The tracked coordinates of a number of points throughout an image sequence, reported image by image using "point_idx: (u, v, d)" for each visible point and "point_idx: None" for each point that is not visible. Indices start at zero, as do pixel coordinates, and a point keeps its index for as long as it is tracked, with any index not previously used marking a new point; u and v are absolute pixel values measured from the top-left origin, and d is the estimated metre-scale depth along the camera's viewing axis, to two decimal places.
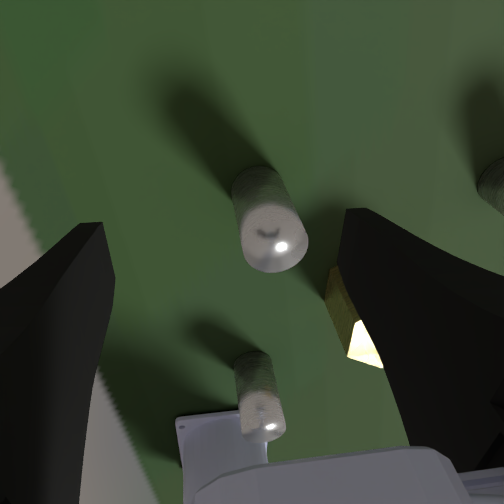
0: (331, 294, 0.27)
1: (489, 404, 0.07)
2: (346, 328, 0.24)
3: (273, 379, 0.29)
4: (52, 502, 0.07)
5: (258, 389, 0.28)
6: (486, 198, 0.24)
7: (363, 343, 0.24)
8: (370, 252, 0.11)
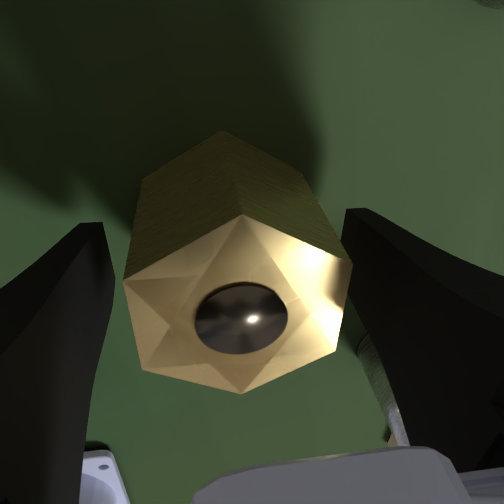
0: None
1: (489, 404, 0.07)
2: None
3: None
4: (52, 502, 0.07)
5: None
6: None
7: (171, 336, 0.09)
8: (370, 253, 0.11)
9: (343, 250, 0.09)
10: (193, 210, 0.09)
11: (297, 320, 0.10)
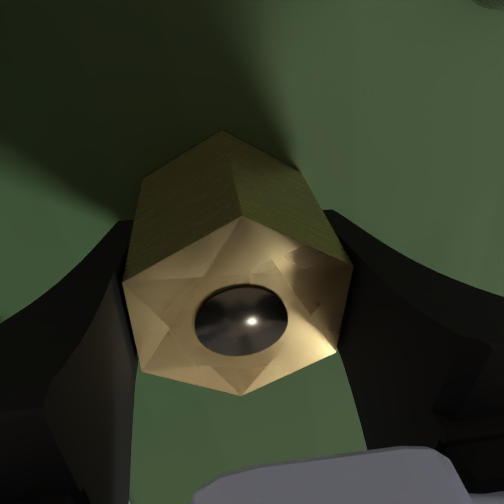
0: None
1: (430, 411, 0.06)
2: None
3: None
4: (112, 494, 0.07)
5: None
6: None
7: (170, 338, 0.09)
8: None
9: (343, 251, 0.09)
10: (193, 211, 0.09)
11: (297, 322, 0.10)
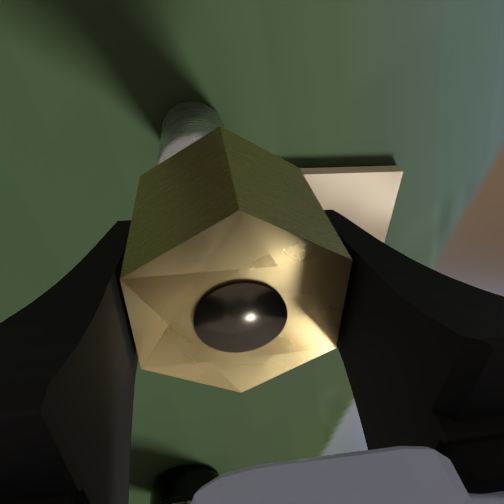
0: None
1: (431, 411, 0.06)
2: None
3: None
4: (111, 494, 0.07)
5: None
6: None
7: (169, 335, 0.09)
8: None
9: (342, 246, 0.09)
10: (191, 207, 0.09)
11: (297, 317, 0.10)
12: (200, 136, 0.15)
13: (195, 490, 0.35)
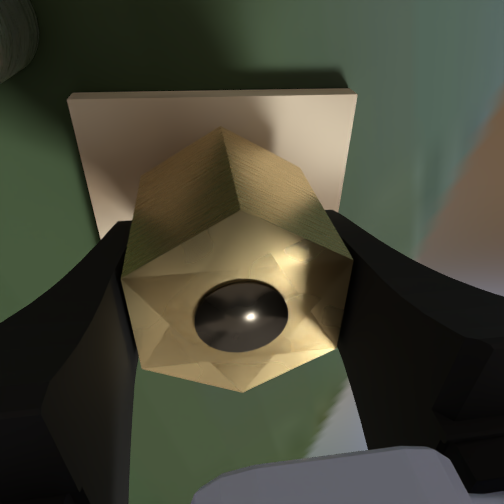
0: None
1: (431, 411, 0.06)
2: None
3: None
4: (111, 494, 0.07)
5: None
6: None
7: (171, 334, 0.09)
8: None
9: (343, 246, 0.09)
10: (192, 207, 0.09)
11: (297, 317, 0.10)
12: None
13: None
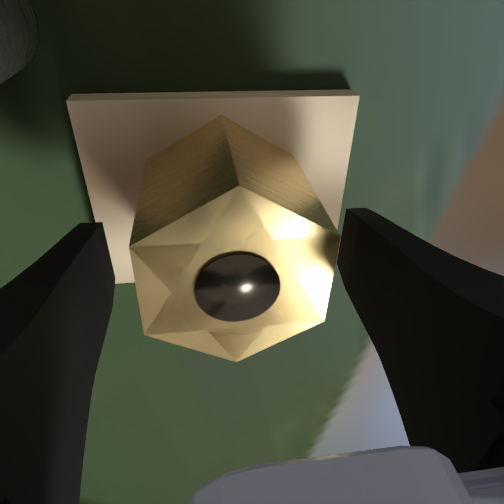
0: None
1: (489, 404, 0.07)
2: None
3: None
4: (52, 502, 0.07)
5: None
6: None
7: (172, 302, 0.10)
8: (371, 253, 0.11)
9: (332, 224, 0.10)
10: (194, 184, 0.10)
11: (289, 289, 0.11)
12: None
13: None
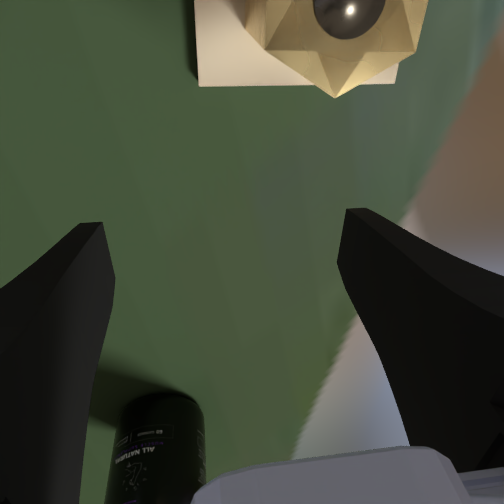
0: None
1: (489, 404, 0.07)
2: None
3: None
4: (52, 502, 0.07)
5: None
6: None
7: (293, 9, 0.12)
8: (370, 253, 0.11)
9: None
10: None
11: (391, 6, 0.12)
12: None
13: (168, 419, 0.29)
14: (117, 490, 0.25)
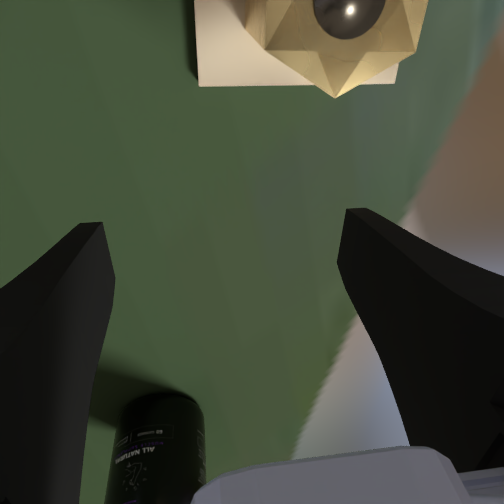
0: None
1: (489, 404, 0.07)
2: None
3: None
4: (52, 502, 0.07)
5: None
6: None
7: (293, 9, 0.12)
8: (370, 253, 0.11)
9: None
10: None
11: (391, 6, 0.12)
12: None
13: (168, 419, 0.29)
14: (117, 490, 0.25)
